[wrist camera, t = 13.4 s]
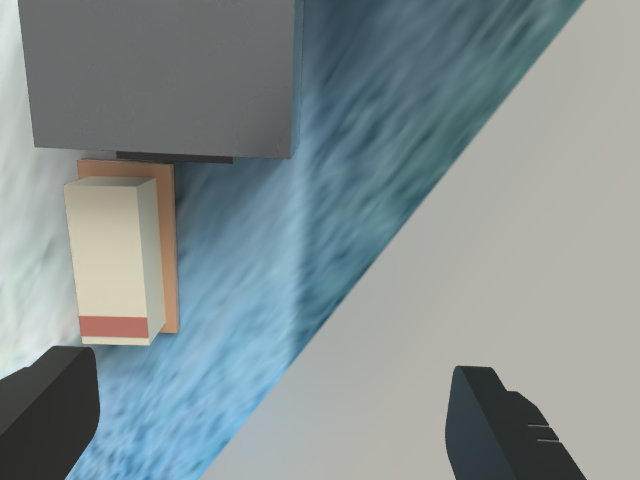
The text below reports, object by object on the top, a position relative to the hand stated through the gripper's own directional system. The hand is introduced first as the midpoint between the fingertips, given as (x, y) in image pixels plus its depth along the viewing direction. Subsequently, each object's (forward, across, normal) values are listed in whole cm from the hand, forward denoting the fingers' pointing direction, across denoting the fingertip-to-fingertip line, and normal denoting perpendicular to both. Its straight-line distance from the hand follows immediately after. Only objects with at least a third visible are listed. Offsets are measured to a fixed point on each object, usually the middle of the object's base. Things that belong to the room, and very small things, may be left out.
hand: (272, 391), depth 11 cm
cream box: (+27, +14, +6) cm, 31 cm away
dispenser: (+28, +8, -9) cm, 30 cm away
